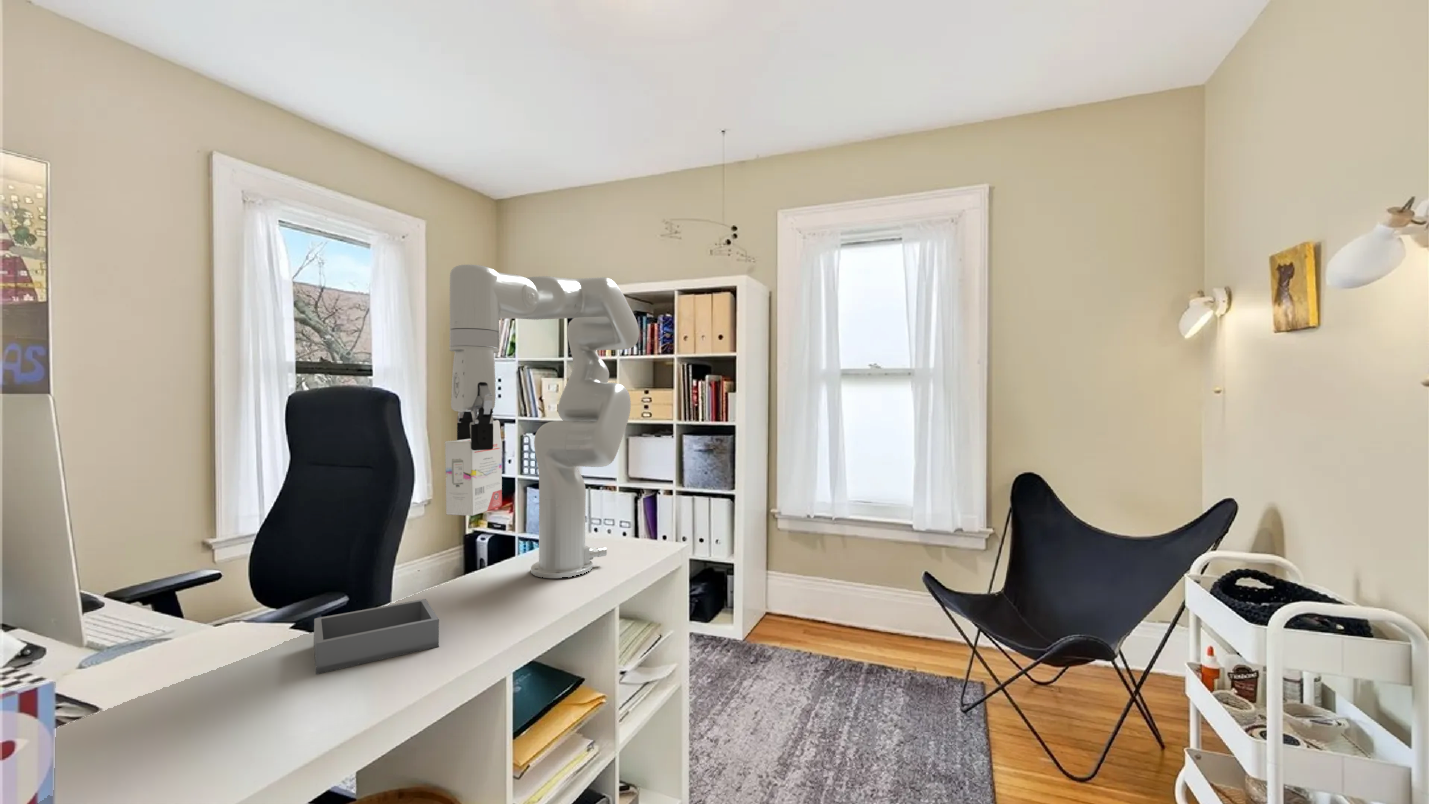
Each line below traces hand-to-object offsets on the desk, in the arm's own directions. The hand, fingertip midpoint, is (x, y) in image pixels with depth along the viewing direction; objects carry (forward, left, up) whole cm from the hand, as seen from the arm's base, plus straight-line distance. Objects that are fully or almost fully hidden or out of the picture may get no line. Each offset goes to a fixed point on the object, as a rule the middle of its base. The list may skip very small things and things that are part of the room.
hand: (474, 447), depth 94 cm
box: (+14, +3, -28) cm, 31 cm away
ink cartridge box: (0, 0, -11) cm, 11 cm away
